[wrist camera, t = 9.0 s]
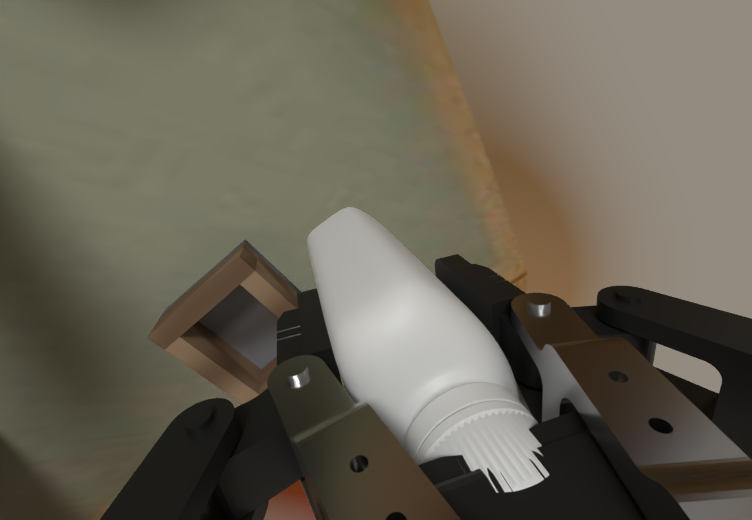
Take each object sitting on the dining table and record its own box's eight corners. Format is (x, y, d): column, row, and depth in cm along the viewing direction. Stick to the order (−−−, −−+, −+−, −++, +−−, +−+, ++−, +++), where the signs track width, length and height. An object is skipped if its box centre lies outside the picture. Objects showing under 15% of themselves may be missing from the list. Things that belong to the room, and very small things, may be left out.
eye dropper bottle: (320, 339, 15) (423, 859, 4) (301, 209, 13) (398, 581, 2) (418, 320, 16) (703, 715, 5) (414, 195, 14) (855, 422, 3)
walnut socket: (165, 309, 31) (147, 337, 26) (245, 239, 30) (239, 256, 26) (261, 381, 35) (259, 415, 31) (332, 321, 35) (339, 347, 31)
